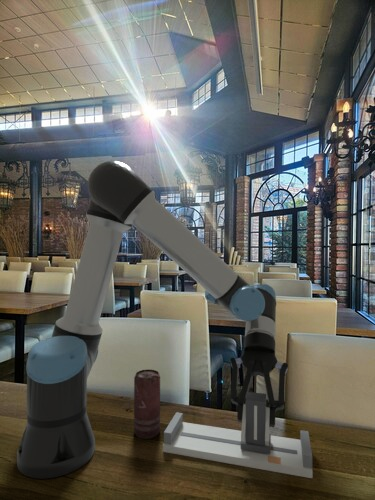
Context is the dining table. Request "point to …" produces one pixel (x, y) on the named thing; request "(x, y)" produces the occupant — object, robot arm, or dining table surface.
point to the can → (147, 404)
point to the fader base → (238, 448)
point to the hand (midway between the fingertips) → (255, 441)
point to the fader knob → (256, 423)
